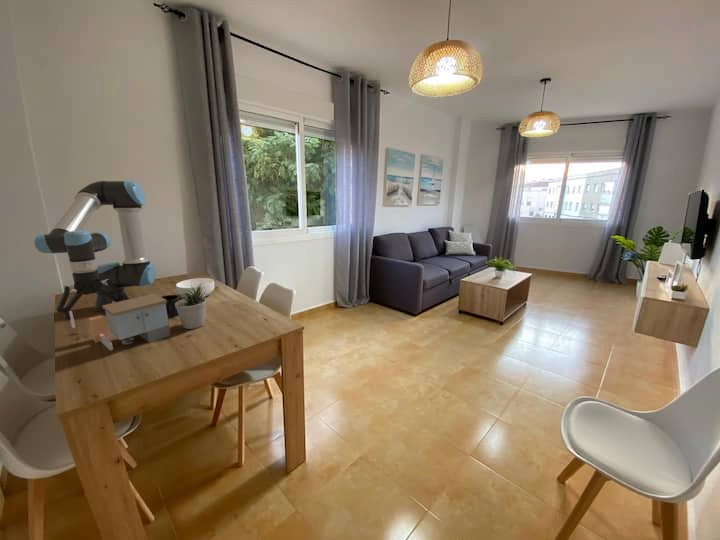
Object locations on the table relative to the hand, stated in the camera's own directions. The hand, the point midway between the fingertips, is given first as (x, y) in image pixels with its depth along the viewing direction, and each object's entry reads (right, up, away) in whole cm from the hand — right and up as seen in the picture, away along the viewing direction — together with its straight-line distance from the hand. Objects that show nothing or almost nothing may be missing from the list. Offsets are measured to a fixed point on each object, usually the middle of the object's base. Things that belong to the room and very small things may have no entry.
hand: (96, 321), depth 120 cm
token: (+13, -9, 0) cm, 16 cm away
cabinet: (+17, -8, +3) cm, 19 cm away
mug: (+13, -2, +27) cm, 30 cm away
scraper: (+5, -9, -1) cm, 10 cm away
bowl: (+11, +5, +55) cm, 56 cm away
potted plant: (+31, -5, +16) cm, 36 cm away
